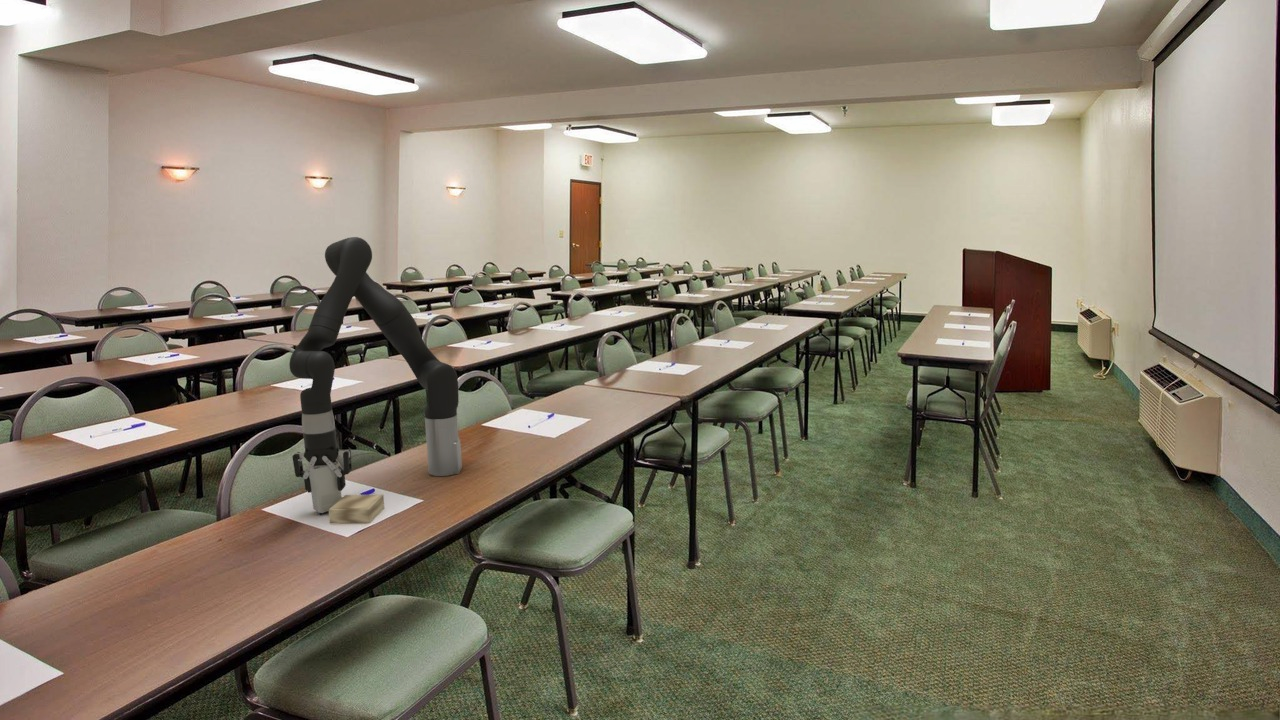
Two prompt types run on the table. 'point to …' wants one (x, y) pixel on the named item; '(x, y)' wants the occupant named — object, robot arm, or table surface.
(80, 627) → the table surface
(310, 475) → the skincare box
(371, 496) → the block
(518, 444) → the table surface
